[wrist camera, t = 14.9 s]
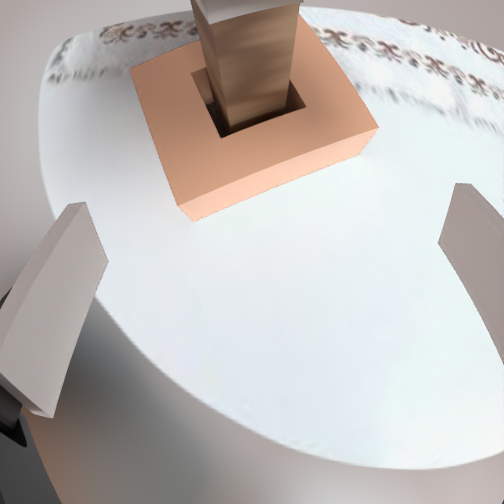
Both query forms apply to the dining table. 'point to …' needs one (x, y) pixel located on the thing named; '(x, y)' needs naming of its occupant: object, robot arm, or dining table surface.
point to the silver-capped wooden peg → (247, 56)
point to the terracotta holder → (253, 138)
